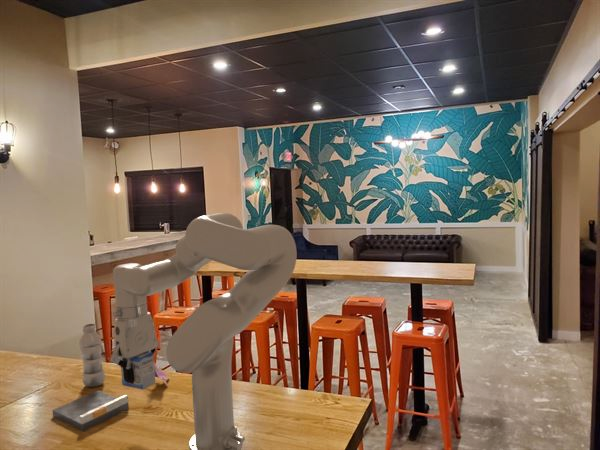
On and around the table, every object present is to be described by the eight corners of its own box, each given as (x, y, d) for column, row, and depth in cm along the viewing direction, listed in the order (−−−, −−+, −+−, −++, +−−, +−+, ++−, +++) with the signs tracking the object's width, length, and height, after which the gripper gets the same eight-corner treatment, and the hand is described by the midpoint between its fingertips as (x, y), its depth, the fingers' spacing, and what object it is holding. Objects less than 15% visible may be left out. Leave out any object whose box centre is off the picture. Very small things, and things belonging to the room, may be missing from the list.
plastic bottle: (97, 390, 147) (92, 329, 145) (78, 389, 148) (73, 328, 146) (109, 381, 153) (104, 322, 151) (91, 380, 154) (86, 321, 152)
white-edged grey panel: (129, 409, 134) (128, 395, 134) (83, 432, 122) (82, 417, 122) (98, 396, 143) (97, 383, 142) (53, 416, 131) (51, 403, 131)
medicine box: (121, 385, 123) (118, 354, 123) (134, 378, 127) (131, 348, 127) (143, 390, 120) (140, 357, 119) (156, 383, 124) (153, 351, 123)
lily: (156, 400, 141) (170, 370, 143) (123, 383, 143) (137, 353, 145) (170, 394, 153) (183, 366, 154) (139, 378, 155) (152, 351, 156)
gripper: (111, 321, 113) (118, 394, 114) (167, 304, 127) (173, 368, 128) (93, 318, 117) (101, 387, 118) (149, 301, 131) (155, 364, 132)
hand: (138, 377), depth 123 cm, fingers closed on medicine box, 4 cm apart
